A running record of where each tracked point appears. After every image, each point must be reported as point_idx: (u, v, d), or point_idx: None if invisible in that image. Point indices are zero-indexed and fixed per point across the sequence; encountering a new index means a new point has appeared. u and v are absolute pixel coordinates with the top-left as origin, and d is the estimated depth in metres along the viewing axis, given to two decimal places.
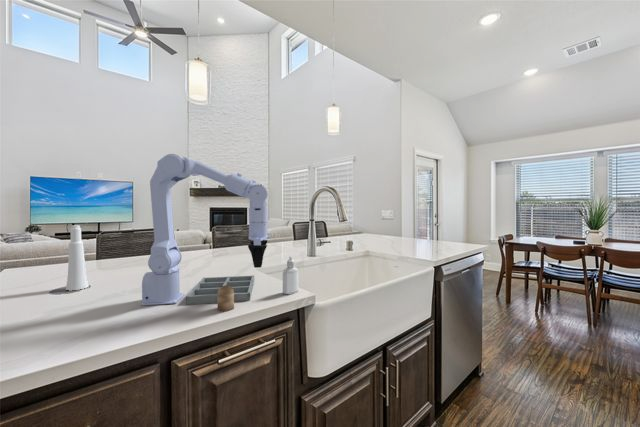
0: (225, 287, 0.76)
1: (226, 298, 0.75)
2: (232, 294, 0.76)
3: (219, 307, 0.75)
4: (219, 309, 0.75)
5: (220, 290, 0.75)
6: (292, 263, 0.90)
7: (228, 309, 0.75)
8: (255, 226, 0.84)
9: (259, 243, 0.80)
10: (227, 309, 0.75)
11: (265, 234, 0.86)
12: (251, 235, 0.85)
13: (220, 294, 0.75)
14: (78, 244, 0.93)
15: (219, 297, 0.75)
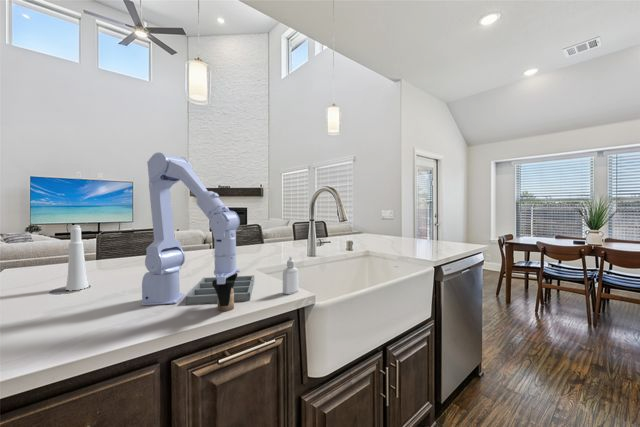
0: None
1: None
2: (232, 294, 0.76)
3: (219, 307, 0.75)
4: (219, 309, 0.75)
5: None
6: (292, 263, 0.90)
7: (228, 309, 0.75)
8: (220, 260, 0.73)
9: (223, 282, 0.69)
10: (227, 309, 0.75)
11: (233, 268, 0.75)
12: (216, 270, 0.74)
13: None
14: (78, 244, 0.93)
15: None
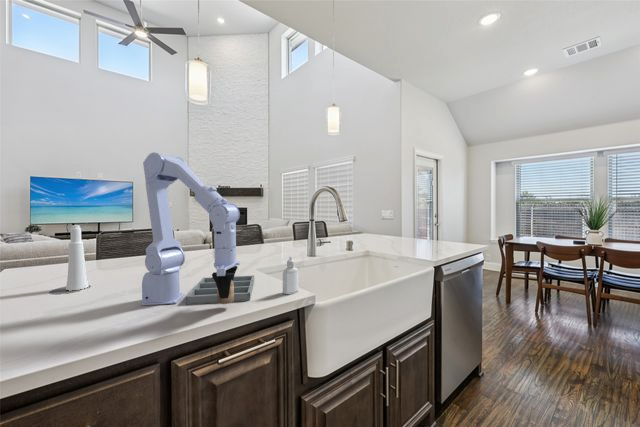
0: None
1: None
2: (232, 286, 0.76)
3: (219, 299, 0.75)
4: (219, 301, 0.75)
5: None
6: (292, 263, 0.90)
7: (228, 301, 0.75)
8: (220, 252, 0.73)
9: (223, 273, 0.69)
10: (227, 301, 0.75)
11: (233, 261, 0.75)
12: (216, 262, 0.74)
13: None
14: (78, 244, 0.93)
15: None
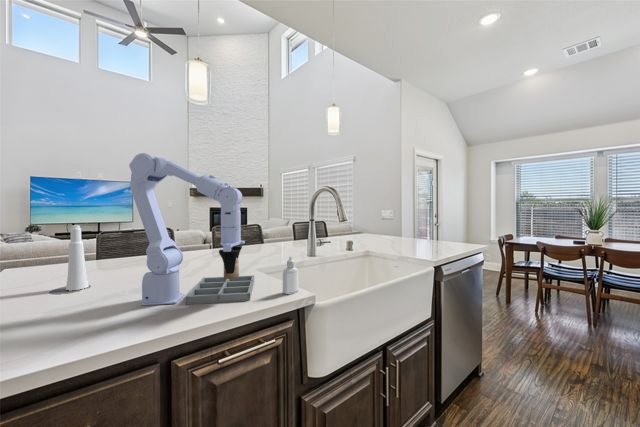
0: None
1: None
2: (237, 263, 0.83)
3: (225, 275, 0.81)
4: (225, 277, 0.81)
5: None
6: (292, 263, 0.90)
7: (233, 277, 0.82)
8: (226, 231, 0.80)
9: (229, 249, 0.76)
10: (232, 277, 0.81)
11: (238, 239, 0.82)
12: (223, 240, 0.81)
13: None
14: (78, 244, 0.93)
15: None
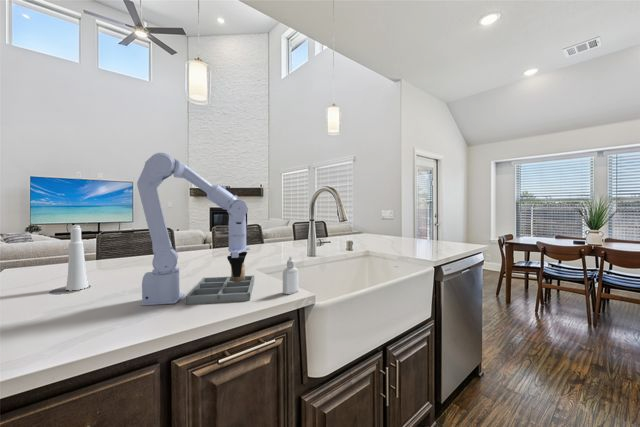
0: None
1: None
2: (243, 268, 0.92)
3: (233, 278, 0.91)
4: (233, 280, 0.91)
5: None
6: (292, 263, 0.90)
7: (240, 280, 0.91)
8: (234, 239, 0.89)
9: (237, 255, 0.85)
10: (239, 280, 0.91)
11: (244, 246, 0.91)
12: (230, 247, 0.90)
13: None
14: (78, 244, 0.93)
15: None
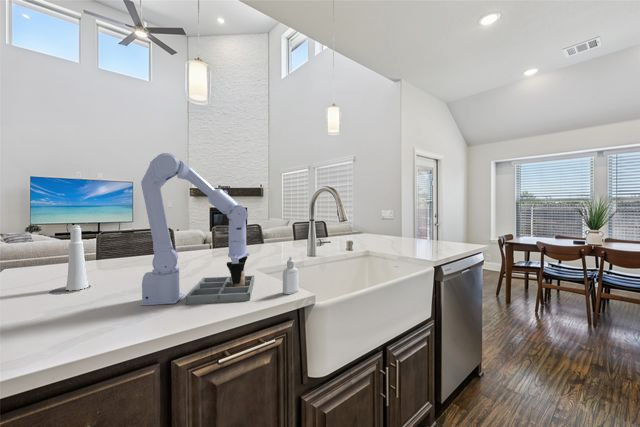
0: None
1: None
2: (243, 276, 0.92)
3: None
4: None
5: None
6: (292, 263, 0.90)
7: None
8: (234, 244, 0.89)
9: (237, 261, 0.85)
10: None
11: (244, 252, 0.91)
12: (230, 253, 0.90)
13: None
14: (78, 244, 0.93)
15: None
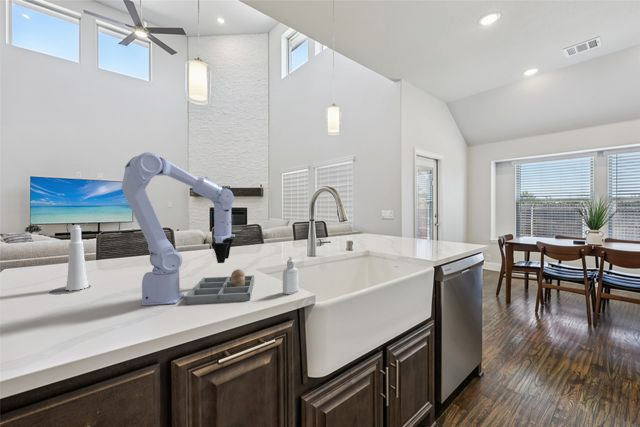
0: (237, 271, 0.92)
1: (238, 279, 0.91)
2: (243, 276, 0.92)
3: None
4: None
5: (233, 273, 0.91)
6: (292, 263, 0.90)
7: None
8: (219, 225, 0.94)
9: (220, 241, 0.89)
10: None
11: (228, 233, 0.95)
12: (215, 234, 0.94)
13: (234, 276, 0.91)
14: (78, 244, 0.93)
15: (232, 278, 0.91)
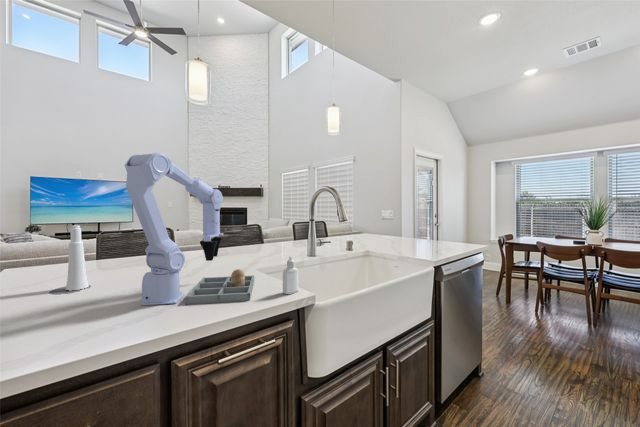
0: (237, 271, 0.92)
1: (238, 279, 0.91)
2: (243, 276, 0.92)
3: None
4: None
5: (233, 273, 0.91)
6: (292, 263, 0.90)
7: None
8: (207, 224, 0.97)
9: (209, 239, 0.93)
10: None
11: (217, 232, 0.99)
12: (204, 233, 0.98)
13: (234, 276, 0.91)
14: (78, 244, 0.93)
15: (232, 278, 0.91)
